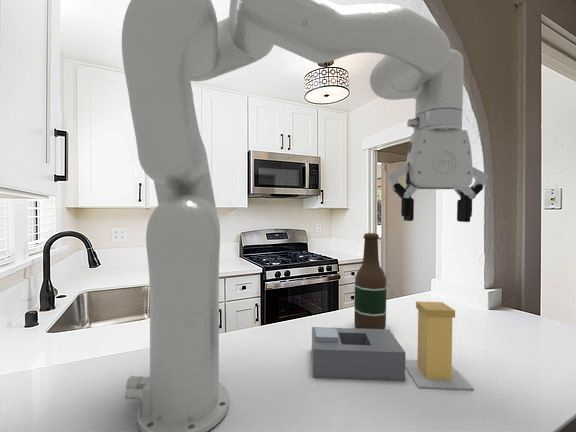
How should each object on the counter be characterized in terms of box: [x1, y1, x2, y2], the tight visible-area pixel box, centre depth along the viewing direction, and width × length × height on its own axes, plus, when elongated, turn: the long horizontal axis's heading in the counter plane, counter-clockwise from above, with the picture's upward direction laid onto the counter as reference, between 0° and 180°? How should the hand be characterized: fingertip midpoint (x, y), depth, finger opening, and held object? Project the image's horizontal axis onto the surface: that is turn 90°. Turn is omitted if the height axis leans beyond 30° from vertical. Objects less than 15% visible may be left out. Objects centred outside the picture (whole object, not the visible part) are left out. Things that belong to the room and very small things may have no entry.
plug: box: [415, 301, 456, 380], centre depth 53 cm, size 5×5×12 cm
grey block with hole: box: [311, 326, 406, 382], centre depth 57 cm, size 16×10×6 cm, turn 87°
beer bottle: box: [353, 232, 387, 329], centre depth 74 cm, size 8×8×24 cm
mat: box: [405, 359, 475, 391], centre depth 53 cm, size 9×9×1 cm
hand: (435, 221), depth 53 cm, fingers open, 9 cm apart
